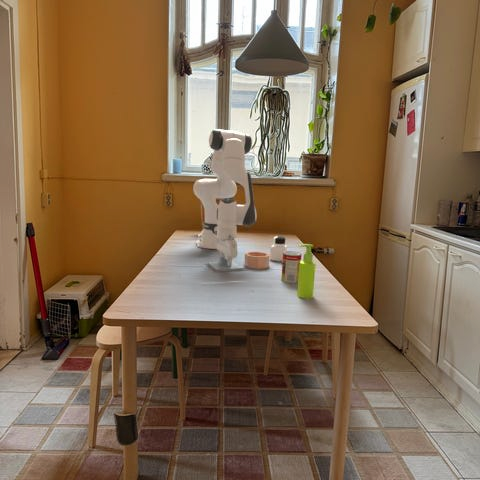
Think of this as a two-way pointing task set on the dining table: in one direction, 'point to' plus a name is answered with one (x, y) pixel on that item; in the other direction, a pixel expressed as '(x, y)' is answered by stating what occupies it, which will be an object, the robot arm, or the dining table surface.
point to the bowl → (257, 260)
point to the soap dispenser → (306, 274)
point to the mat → (223, 271)
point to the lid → (224, 265)
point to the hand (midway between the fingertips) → (225, 263)
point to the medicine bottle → (278, 249)
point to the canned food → (291, 266)
